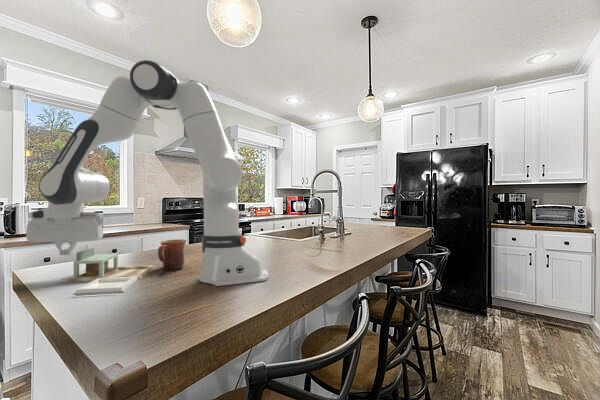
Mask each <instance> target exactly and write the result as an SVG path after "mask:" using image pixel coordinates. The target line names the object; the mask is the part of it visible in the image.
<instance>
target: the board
mask: <svg viewBox="0 0 600 400" xmlns="http://www.w3.org/2000/svg"><path fill="white" fill-rule="evenodd" d="M155 267H156V265H154V264H153V265H133V266H118V270H117V269H114V266H108V273H107V274H105V275H104V277H99V275H98V276H86V268H85V269H84V271H83V272H79V278H74V275H73V276H70V277H67V278H66V277H65V278H61V280H60V282H61V283H73V282H92V281H94V280H95V279H97V278H114V277H135V276H137V279H142V278H143V277H145V275H147V274H148V273H149V272H151V271H152V270H154V269H155Z"/></svg>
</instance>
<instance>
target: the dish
mask: <svg viewBox="0 0 600 400" xmlns="http://www.w3.org/2000/svg"><path fill="white" fill-rule="evenodd" d="M137 280H138V278H137V276H135V277H114V278H97V279H95V280H94V281H89V282H88V283H86V284H84V285H83V286H81V287H78V288H77V289H76V292H75V293H76V294H75V296H77V297H78V296H80V297H81V296H92V295H93V296H95V295H113V294H123V293H124V290H126V289H127V288H128V287H129V286H131V285H132V284H134V283H135V282H136V281H137Z"/></svg>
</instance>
